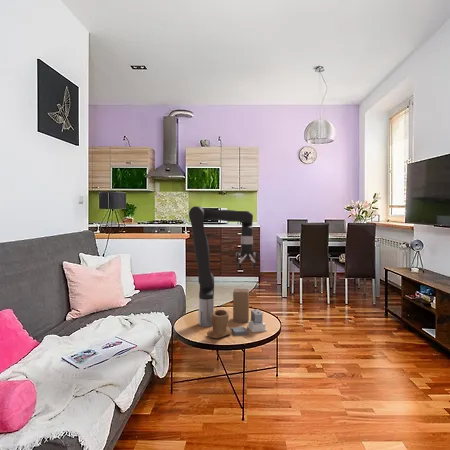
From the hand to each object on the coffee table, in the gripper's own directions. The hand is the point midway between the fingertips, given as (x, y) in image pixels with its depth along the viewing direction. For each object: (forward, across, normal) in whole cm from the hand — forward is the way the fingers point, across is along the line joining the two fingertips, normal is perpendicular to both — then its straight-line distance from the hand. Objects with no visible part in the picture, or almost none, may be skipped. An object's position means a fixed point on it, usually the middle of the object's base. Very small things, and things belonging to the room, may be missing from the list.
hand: (246, 268), depth 219 cm
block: (+36, 0, +11) cm, 38 cm away
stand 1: (+36, -8, -11) cm, 38 cm away
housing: (+32, +4, -8) cm, 33 cm away
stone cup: (+36, -20, -13) cm, 43 cm away
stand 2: (+36, +4, -8) cm, 37 cm away
